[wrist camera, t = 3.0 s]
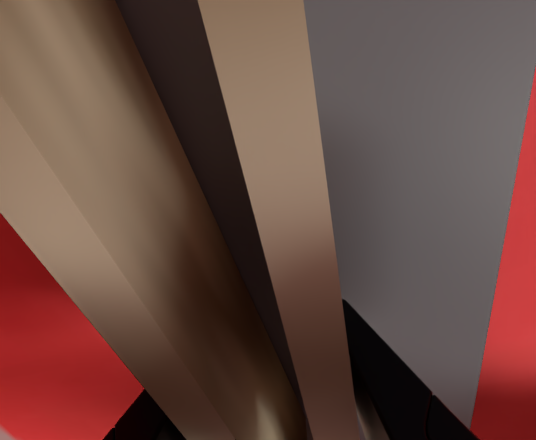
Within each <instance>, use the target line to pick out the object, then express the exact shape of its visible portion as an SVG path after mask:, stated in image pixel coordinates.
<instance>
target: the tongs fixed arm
mask: <svg viewBox="0 0 536 440" xmlns="http://www.w3.org/2000/svg"><path fill="white" fill-rule="evenodd" d="M198 3H199V7H200V11H201V15H202V19H203V22H204V26H205V30H206V34H207V38H208V41H209V45H210V49H211V53H212V57H213V60H214V64H215V68H216V72H217V76H218V80H219V83H220V87H221V91H222V95H223V99H224V102H225V106H226V110H227V114H228V118H229V121H230V125H231V129H232V133H233V137H234V140H235V144H236V148H237V152H238V156H239V159H240V163H241V167H242V171H243V175H244V178H245V182H246V186H247V190H248V194H249V197H250V201H251V205H252V209H253V213H254V216H255V220H256V224H257V228H258V232H259V235H260V239H261V243H262V247H263V251H264V254H265V258H266V262H267V266H268V270H269V274H270V277H271V281H272V285H273V289H274V293H275V296H276V300H277V304H278V308H279V312H280V315H281V319H282V323H283V327H284V331H285V334H286V338H287V342H288V346H289V350H290V353H291V357H292V361H293V365H294V369H295V372H296V376H297V380H298V384H299V388H300V391H301V395H302V399H303V403H304V407H305V410H306V414H307V417H306V430H307V440H360V436H359V428H358V420H357V413H356V405H355V397H354V389H353V382H352V374H351V366H350V358H349V351H348V343H347V335H346V327H345V320H344V312H343V304H342V296H341V289H340V281H339V273H338V265H337V258H336V250H335V242H334V234H333V227H332V219H331V211H330V203H329V196H328V188H327V180H326V172H325V165H324V157H323V149H322V141H321V134H320V126H319V118H318V110H317V103H316V95H315V87H314V79H313V72H312V64H311V56H310V48H309V41H308V33H307V25H306V17H305V10H304V2H303V0H198Z"/></svg>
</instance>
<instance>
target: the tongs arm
mask: <svg viewBox="0 0 536 440" xmlns="http://www.w3.org/2000/svg"><path fill="white" fill-rule="evenodd" d="M0 213H1V214H2V215H3V216H4V218H5V219H6V220H7V221H8V223H9V224H10V225H11V226H12V227H13V229H14V230H15V231H16V232H17V234H18V235H19V236H20V237H21V238H22V240H23V241H24V242H25V243H26V244H27V246H28V247H29V248H30V249H31V251H32V252H33V253H34V254H35V255H36V257H37V258H38V259H39V260H40V262H41V263H42V264H43V265H44V266H45V268H46V269H47V270H48V271H49V273H50V274H51V275H52V276H53V277H54V279H55V280H56V281H57V282H58V283H59V285H60V286H61V287H62V288H63V290H64V291H65V292H66V293H67V294H68V296H69V297H70V298H71V299H72V301H73V302H74V303H75V304H76V305H77V307H78V308H79V309H80V310H81V312H82V313H83V314H84V315H85V316H86V318H87V319H88V320H89V321H90V322H91V324H92V325H93V326H94V327H95V329H96V330H97V331H98V332H99V333H100V335H101V336H102V337H103V338H104V340H105V341H106V342H107V343H108V344H109V346H110V347H111V348H112V349H113V351H114V352H115V353H116V354H117V355H118V357H119V358H120V359H121V360H122V361H123V363H124V364H125V365H126V366H127V368H128V369H129V370H130V371H131V372H132V374H133V375H134V376H135V377H136V379H137V380H138V381H139V382H140V383H141V385H142V386H143V387H144V388H145V390H146V391H147V392H148V393H149V394H150V396H151V397H152V398H153V399H154V400H155V402H156V403H157V404H158V405H159V407H160V408H161V409H162V410H163V411H164V413H165V414H166V415H167V416H168V418H169V419H170V420H171V421H172V422H173V424H174V425H175V426H176V427H177V429H178V430H179V431H180V432H181V433H182V435H183V436H184V437H185V438H186V439H187V440H307V430H306V417H305V415H304V413H303V411H302V408H301V406H300V404H299V402H298V400H297V397H296V395H295V393H294V391H293V389H292V386H291V384H290V382H289V380H288V378H287V376H286V373H285V371H284V369H283V367H282V365H281V362H280V360H279V358H278V356H277V354H276V351H275V349H274V347H273V345H272V343H271V340H270V338H269V336H268V334H267V332H266V330H265V327H264V325H263V323H262V321H261V319H260V316H259V314H258V312H257V310H256V308H255V305H254V303H253V301H252V299H251V297H250V295H249V292H248V290H247V288H246V286H245V284H244V281H243V279H242V277H241V275H240V273H239V270H238V268H237V266H236V264H235V262H234V260H233V257H232V255H231V253H230V251H229V249H228V246H227V244H226V242H225V240H224V238H223V235H222V233H221V231H220V229H219V227H218V224H217V222H216V220H215V218H214V216H213V214H212V211H211V209H210V207H209V205H208V203H207V200H206V198H205V196H204V194H203V192H202V189H201V187H200V185H199V183H198V181H197V179H196V176H195V174H194V172H193V170H192V168H191V165H190V163H189V161H188V159H187V157H186V154H185V152H184V150H183V148H182V146H181V144H180V141H179V139H178V137H177V135H176V133H175V130H174V128H173V126H172V124H171V122H170V119H169V117H168V115H167V113H166V111H165V108H164V106H163V104H162V102H161V100H160V98H159V95H158V93H157V91H156V89H155V87H154V84H153V82H152V80H151V78H150V76H149V73H148V71H147V69H146V67H145V65H144V63H143V60H142V58H141V56H140V54H139V52H138V49H137V47H136V45H135V43H134V41H133V38H132V36H131V34H130V32H129V30H128V28H127V25H126V23H125V21H124V19H123V17H122V14H121V12H120V10H119V8H118V6H117V3H116V1H115V0H0Z"/></svg>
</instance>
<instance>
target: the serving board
mask: <svg viewBox="0 0 536 440" xmlns="http://www.w3.org/2000/svg"><path fill="white" fill-rule="evenodd" d="M115 1H116V3H117V6H118V8H119V10H120V12H121V14H122V17H123V19H124V21H125V23H126V25H127V28H128V30H129V32H130V34H131V36H132V38H133V41H134V43H135V45H136V47H137V49H138V52H139V54H140V56H141V58H142V60H143V63H144V65H145V67H146V69H147V71H148V73H149V76H150V78H151V80H152V82H153V84H154V87H155V89H156V91H157V93H158V95H159V98H160V100H161V102H162V104H163V106H164V108H165V111H166V113H167V115H168V117H169V119H170V122H171V124H172V126H173V128H174V130H175V133H176V135H177V137H178V139H179V141H180V144H181V146H182V148H183V150H184V152H185V154H186V157H187V159H188V161H189V163H190V165H191V168H192V170H193V172H194V174H195V176H196V179H197V181H198V183H199V185H200V187H201V189H202V192H203V194H204V196H205V198H206V200H207V203H208V205H209V207H210V209H211V211H212V214H213V216H214V218H215V220H216V222H217V224H218V227H219V229H220V231H221V233H222V235H223V238H224V240H225V242H226V244H227V246H228V249H229V251H230V253H231V255H232V257H233V260H234V262H235V264H236V266H237V268H238V270H239V273H240V275H241V277H242V279H243V281H244V284H245V286H246V288H247V290H248V292H249V295H250V297H251V299H252V301H253V303H254V305H255V308H256V310H257V312H258V314H259V316H260V319H261V321H262V323H263V325H264V327H265V330H266V332H267V334H268V336H269V338H270V340H271V343H272V345H273V347H274V349H275V351H276V354H277V356H278V358H279V360H280V362H281V365H282V367H283V369H284V371H285V373H286V376H287V378H288V380H289V382H290V384H291V386H292V389H293V391H294V393H295V395H296V397H297V400H298V402H299V404H300V406H301V408H302V411H303V413H304V415H305V417H307V414H306V410H305V407H304V403H303V399H302V395H301V391H300V388H299V384H298V380H297V376H296V372H295V369H294V365H293V361H292V357H291V353H290V350H289V346H288V342H287V338H286V334H285V331H284V327H283V323H282V319H281V315H280V312H279V308H278V304H277V300H276V296H275V293H274V289H273V285H272V281H271V277H270V274H269V270H268V266H267V262H266V258H265V254H264V251H263V247H262V243H261V239H260V235H259V232H258V228H257V224H256V220H255V216H254V213H253V209H252V205H251V201H250V197H249V194H248V190H247V186H246V182H245V178H244V175H243V171H242V167H241V163H240V159H239V156H238V152H237V148H236V144H235V140H234V137H233V133H232V129H231V125H230V121H229V118H228V114H227V110H226V106H225V102H224V99H223V95H222V91H221V87H220V83H219V80H218V76H217V72H216V68H215V64H214V60H213V57H212V53H211V49H210V45H209V41H208V38H207V34H206V30H205V26H204V22H203V19H202V15H201V11H200V7H199V3H198V0H115ZM303 2H304V10H305V17H306V25H307V33H308V41H309V48H310V56H311V64H312V72H313V79H314V87H315V95H316V103H317V110H318V118H319V126H320V134H321V141H322V149H323V157H324V165H325V172H326V180H327V188H328V196H329V203H330V211H331V219H332V227H333V234H334V242H335V250H336V258H337V265H338V273H339V281H340V289H341V296H342V299H344V300H346V301H347V302H348V303H349V304H350V305H351V306H352V307H353V308H354V309H355V310H356V311H357V312H358V313H359V315H360V316H361V317H362V318H363V319H364V320H365V321H366V322H367V323H368V324H369V325H370V326H371V327H372V328H373V329H374V330H375V331H376V333H377V334H378V335H379V336H380V337H381V338H382V339H383V340H384V341H385V342H386V343H387V344H388V345H389V346H390V347H391V348H392V349H393V351H394V352H395V353H396V354H397V355H398V356H399V357H400V358H401V359H402V360H403V361H404V362H405V363H406V364H407V365H408V366H409V367H410V369H411V370H412V371H413V372H414V373H415V374H416V375H417V376H418V377H419V378H420V379H421V380H422V381H423V382H424V383H425V384H426V385H427V387H428V388H429V389H430V390H431V391H432V392H433V395H436V396H437V397H438V398H439V399H440V400H441V401H442V402H443V403H444V404H445V405H446V406H447V408H448V409H449V410H450V411H451V412H452V413H453V414H454V415H455V416H456V417H457V418H458V419H459V420H460V421H461V422H462V423H463V424H464V425H465V426H466V427H467V428H468V429H469V430H470V427H471V421H472V415H473V410H474V404H475V399H476V393H477V388H478V382H479V377H480V371H481V366H482V360H483V355H484V349H485V343H486V338H487V332H488V327H489V321H490V316H491V310H492V305H493V299H494V294H495V288H496V283H497V277H498V271H499V266H500V260H501V255H502V249H503V244H504V238H505V233H506V227H507V222H508V216H509V211H510V205H511V199H512V194H513V188H514V183H515V177H516V172H517V166H518V161H519V155H520V150H521V144H522V139H523V133H524V127H525V122H526V116H527V111H528V105H529V100H530V94H531V89H532V83H533V78H534V72H535V67H536V0H303ZM356 413H357V411H356ZM357 420H358V428H359V436H360V440H366V438H365V435H364V432H363V429H362V426H361V423H360V420H359V417H358V414H357Z"/></svg>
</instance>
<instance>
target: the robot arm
mask: <svg viewBox="0 0 536 440" xmlns="http://www.w3.org/2000/svg"><path fill="white" fill-rule="evenodd" d="M342 304H343V312H344V320H345V327H346V335H347V343H348V351H349V358H350V366H351V374H352V382H353V389H354V397H355V405H356V411H357V414H358V417H359V420H360V423H361V426H362V429H363V432H364V435H365V438H366V440H480V439H479V438H478V437H477V436H476V435H474V434H473V433H472V432H471V431H470V430H469V429H468V428H467V427H466V426H465V425H464V424H463V423H462V422H461V421H460V420H459V419H458V418H457V417H456V416H455V415H454V414H453V413H452V412H451V411H450V410H449V409H448V408H447V406H446V405H445V404H444V403H443V402H442V401H441V400H440V399H439V398H438V397H437V396H436V395H433V392H432V391H431V390H430V389H429V388H428V387H427V385H426V384H425V383H424V382H423V381H422V380H421V379H420V378H419V377H418V376H417V375H416V374H415V373H414V372H413V371H412V370H411V369H410V367H409V366H408V365H407V364H406V363H405V362H404V361H403V360H402V359H401V358H400V357H399V356H398V355H397V354H396V353H395V352H394V351H393V349H392V348H391V347H390V346H389V345H388V344H387V343H386V342H385V341H384V340H383V339H382V338H381V337H380V336H379V335H378V334H377V333H376V331H375V330H374V329H373V328H372V327H371V326H370V325H369V324H368V323H367V322H366V321H365V320H364V319H363V318H362V317H361V316H360V315H359V313H358V312H357V311H356V310H355V309H354V308H353V307H352V306H351V305H350V304H349V303H348V302H347V301H346V300H344V299H342ZM103 440H187V439H186V438H185V437H184V436H183V435H182V433H181V432H180V431H179V430H178V429H177V427H176V426H175V425H174V424H173V422H172V421H171V420H170V419H169V418H168V416H167V415H166V414H165V413H164V411H163V410H162V409H161V408H160V407H159V405H158V404H157V403H156V402H155V400H154V399H153V398H152V397H151V396H150V394H149V393H148V392H147V391H146V390H145V389H144V390H143V391H142V393H141V394H140V395H139V396H138V398H137V399H136V400H135V401H134V402H133V404H132V405H131V406H130V407H129V408H128V410H127V411H126V412H125V413H124V415H123V416H122V417H121V418H120V419H119V421H118V422H117V423H116V424H115V428H112V429H111V430H110V431H109V433H108V434H107V435H106V436H105V437H104V439H103Z"/></svg>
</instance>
